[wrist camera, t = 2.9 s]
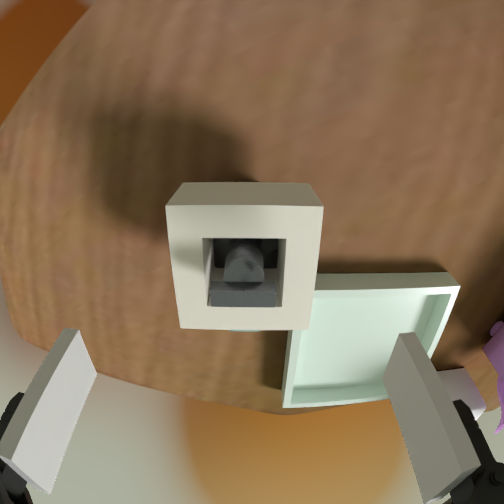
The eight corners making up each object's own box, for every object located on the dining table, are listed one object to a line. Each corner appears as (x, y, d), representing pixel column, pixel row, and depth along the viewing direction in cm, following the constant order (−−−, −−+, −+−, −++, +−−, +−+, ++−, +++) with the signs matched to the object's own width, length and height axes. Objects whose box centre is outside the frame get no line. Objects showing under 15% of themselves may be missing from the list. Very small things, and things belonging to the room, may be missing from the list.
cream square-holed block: (182, 182, 20) (165, 205, 16) (309, 183, 20) (323, 206, 16) (193, 301, 24) (183, 341, 20) (298, 302, 24) (306, 343, 20)
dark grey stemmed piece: (207, 181, 24) (176, 243, 14) (286, 181, 24) (309, 244, 14) (210, 252, 27) (188, 342, 17) (283, 252, 27) (298, 343, 17)
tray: (293, 273, 27) (296, 290, 25) (448, 271, 28) (460, 285, 25) (281, 390, 35) (282, 407, 32) (405, 380, 35) (411, 395, 32)
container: (401, 407, 38) (426, 482, 26) (424, 371, 34) (460, 453, 23) (442, 401, 38) (470, 468, 27) (466, 366, 35) (503, 437, 23)
